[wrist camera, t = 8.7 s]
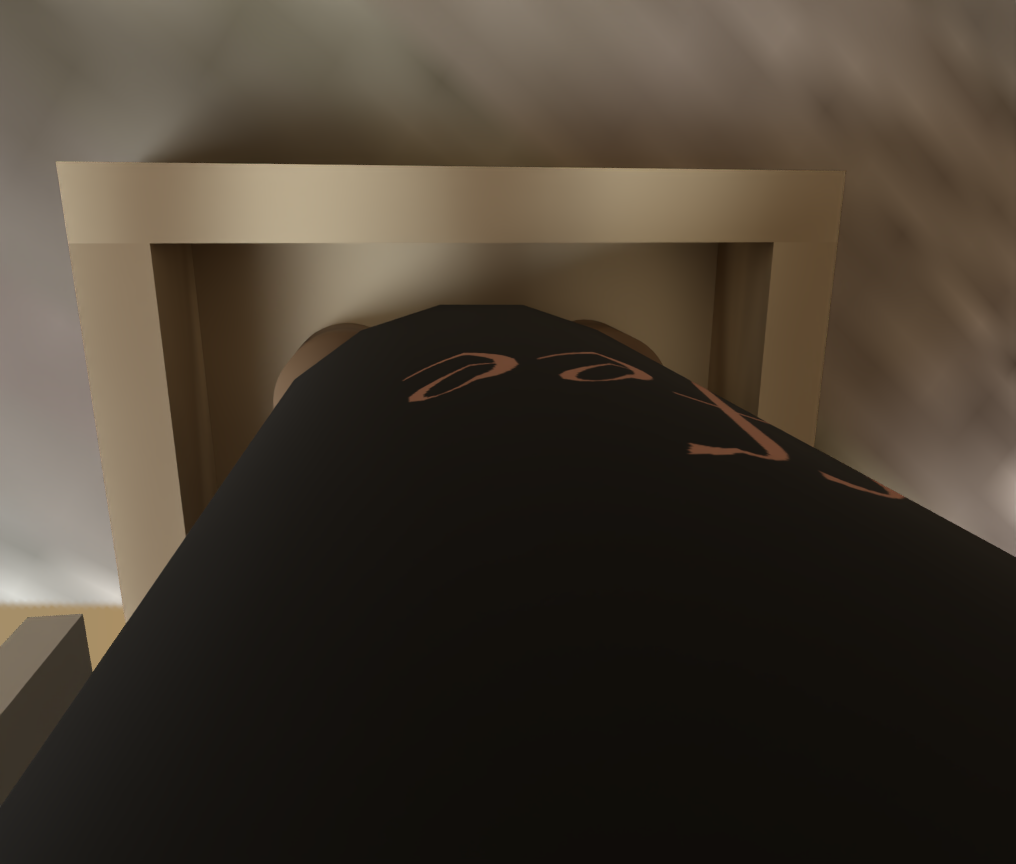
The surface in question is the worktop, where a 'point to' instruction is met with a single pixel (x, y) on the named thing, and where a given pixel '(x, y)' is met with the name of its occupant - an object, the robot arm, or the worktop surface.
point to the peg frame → (414, 293)
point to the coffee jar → (540, 636)
